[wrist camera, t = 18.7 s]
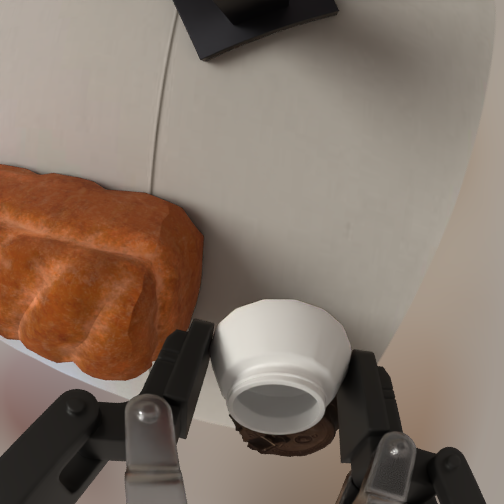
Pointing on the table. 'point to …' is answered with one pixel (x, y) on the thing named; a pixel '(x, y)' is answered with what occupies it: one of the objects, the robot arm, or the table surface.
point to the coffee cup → (295, 436)
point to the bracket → (244, 20)
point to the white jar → (279, 364)
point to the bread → (94, 271)
